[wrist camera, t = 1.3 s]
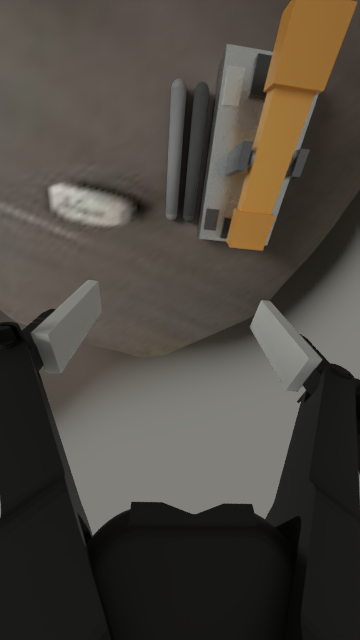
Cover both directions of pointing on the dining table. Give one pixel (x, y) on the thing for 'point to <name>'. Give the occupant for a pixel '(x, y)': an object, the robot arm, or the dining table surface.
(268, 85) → the lever
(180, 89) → the grey rod
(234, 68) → the grey bracketed base
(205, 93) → the cord
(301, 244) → the dining table surface
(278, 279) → the dining table surface
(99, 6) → the dining table surface
